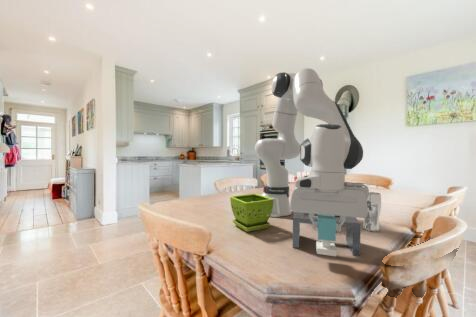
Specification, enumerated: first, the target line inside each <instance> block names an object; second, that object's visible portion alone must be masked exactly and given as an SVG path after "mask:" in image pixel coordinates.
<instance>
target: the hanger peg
mask: <svg viewBox="0 0 476 317" xmlns="http://www.w3.org/2000/svg"><path fill="white" fill-rule="evenodd" d="M317 218H318V229H316V233H317V240H321V241H317V240H316V242H315V249H316V254H318V255H324V256H331V257H337V255H338V253H337V247H336V244H335V243H333V242H336V241H337V240H336V239H337V231H336V218H335V216H334V215H322V214H318V216H317Z"/></svg>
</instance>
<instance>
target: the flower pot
mask: <svg viewBox="0 0 476 317" xmlns="http://www.w3.org/2000/svg"><path fill="white" fill-rule="evenodd" d="M229 199H230V200H229V201H230V207H231V212H232V214H233V216H234V219H232V223H234V225H236V227H238V228H240V229H242V230H243V231H245V232H246V233H249V232H253V231H259V230H265V229H266V230H267V228H269V226H271V223H270V222H269V219H270V218H271V217H270V215H271V212H272V208H273V199H271V198H268V197H265V196H262V195H261V194H260V193H259V194H257V193H249V194H247V193H246V194H239V195H238V194H237V195H232V196H230V197H229ZM259 210H260V211H259Z"/></svg>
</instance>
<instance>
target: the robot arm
mask: <svg viewBox="0 0 476 317" xmlns="http://www.w3.org/2000/svg"><path fill="white" fill-rule="evenodd" d="M271 92H272V95H273V96H275V97H276V98H277V100H276V104H275V107H274V112H273V118H272V122H271V126H272V128H273V129H274V130H275V131H276V132H277V133H278V137H277V138H270V137H269V138H262V139H259V140H257V141H256V143H255V145H254V153H255V155H256V157H257V158H258V159H260V160H261V162H262V164H264V167H265V170H266V171H265V172H266V184H265V185H263V190H262V191H263V192H262V193H261V194H260V195H262V196H265V197H268V198H271V199H273V208H272V212H271V215H270V217H269V218H280V217H286V216H289V215H292V213H294V212H299V213H309V216H308V217H309V218H310V220H311V222H312V223H313V224H312V229H313V230H317V229H318V222H315V221H314V219H313V217H315V216H314V214H322V215H334V216H339V218H340V221H339V222H338V224H336V233H337V232H338V233H340V232H342V227H341V226H342V225H343V223H344V222H345V221H346V217H356V218H358V219H364V218H365V217H366V216H367V215H368V205H367V198H368V196H369V192H370V189H369V187H368V186H367V185H365V184H363V183H361V182H348V181H346V170H352V169H353V168H355V167H356V166H358V165H359V164H360V163H361V162H362V160H363V157H364V148H363V145H362V144H361V142H360V141H359V139H358V138H357V137H356V135H355V134H354V133H353V131H352V129H351V127H350V124H349V122H348V120H347V119H346V117H345V114H344V112H343V111H342V108H341V106H339V104H338V102H336V101H334V100H333V99H332V98H330V97H329V96H328V95H327V93H326V92H325V90H324V84H323V80H322V79H321V78H320V75H319V74H318V73H317V71H315V70H314V69H312V68H309V67H308V68H307V67H306V68H303V69H300V70H299V71H297V72H296V73H291V72H289V73H288V72H279V73H276V74H275V75H274V77H273V79H272V81H271ZM298 113H300V114H301V115H302V116H305V117H308V118H313V119H317V120H320V121H322V122H325V123H322V124H321V123H320V124H317V125H315V126H314V127H313V131H312V135H311V136H310V137H309V138H308V137H307V138H306V139H304V140H303V141H301V142H302V143H299V141H298V140H297V139H296V135H295V125H296V121H297V115H298ZM299 156H300V157H299ZM297 157H299V158H300V159H299V160H300V161H301V163H303V165H305V166H306V167H309V168H311V170H310V174H308V175H303V176H299V177H297V178H296V179H295V180H294V185H295V186H294V187H293V189H292V192H291V197H290V186H289V171H288V169H287V168H285V167H284V166H282V164H281V161H280V160H292V159H296V158H297ZM289 197H290V198H289ZM259 211H260V210H259Z"/></svg>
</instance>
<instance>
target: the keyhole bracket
mask: <svg viewBox="0 0 476 317" xmlns="http://www.w3.org/2000/svg"><path fill="white" fill-rule="evenodd" d="M335 218H336V224H338V222H339V221H340V218H339V216H335ZM313 219H314V221H315V222H318V214H314V217H313ZM301 224H307V225H308V224H309V225H313V223H312V222H311V220H310V218H309V213H299V212H293V216H292V249H300V238H301V237H300V236H301V232H300V231H301ZM341 228H345V242H346V243H347V246H348V248H349V250H350V253H351V254H352V256H357V257H361V222H360V221H359V220H358V219H357V217H346V221H345V222H344V223H343V225H342V226H341Z"/></svg>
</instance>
